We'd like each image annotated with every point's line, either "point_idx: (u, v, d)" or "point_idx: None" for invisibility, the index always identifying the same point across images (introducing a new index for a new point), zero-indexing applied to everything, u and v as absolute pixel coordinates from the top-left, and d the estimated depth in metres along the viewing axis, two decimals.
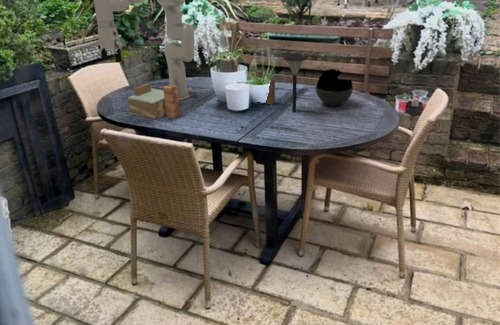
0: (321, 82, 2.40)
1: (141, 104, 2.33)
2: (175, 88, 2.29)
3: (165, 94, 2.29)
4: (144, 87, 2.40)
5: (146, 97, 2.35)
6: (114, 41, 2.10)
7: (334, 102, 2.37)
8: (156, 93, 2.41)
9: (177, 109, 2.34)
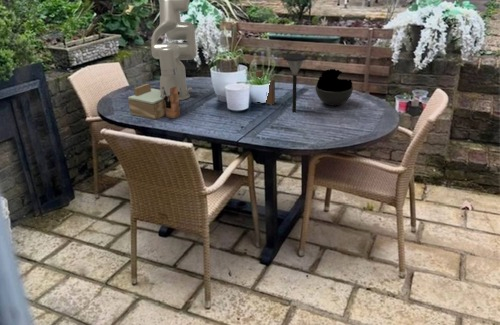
0: (321, 82, 2.40)
1: (141, 104, 2.33)
2: (175, 88, 2.29)
3: None
4: (144, 87, 2.40)
5: (146, 97, 2.35)
6: None
7: (334, 102, 2.37)
8: (156, 93, 2.41)
9: (177, 109, 2.34)
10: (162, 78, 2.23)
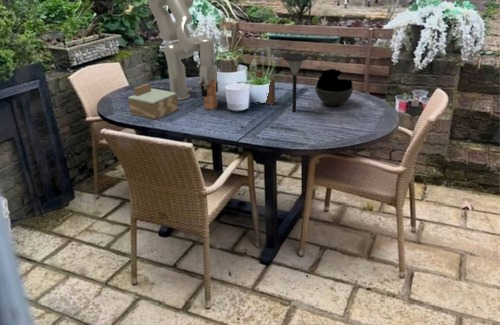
0: (321, 82, 2.40)
1: (141, 104, 2.33)
2: (214, 81, 2.39)
3: None
4: (144, 87, 2.40)
5: (146, 97, 2.35)
6: None
7: (334, 102, 2.37)
8: (156, 93, 2.41)
9: (215, 101, 2.44)
10: (202, 68, 2.33)
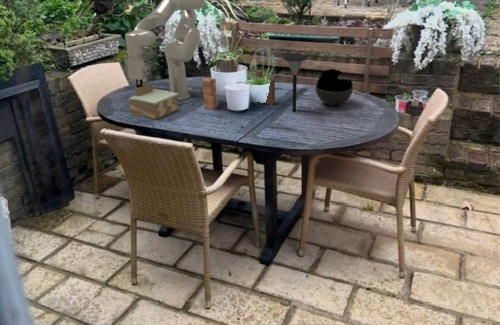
0: (321, 82, 2.40)
1: (141, 104, 2.33)
2: (214, 81, 2.39)
3: (204, 87, 2.39)
4: (146, 87, 2.40)
5: (148, 97, 2.35)
6: None
7: (334, 102, 2.37)
8: (158, 93, 2.41)
9: (215, 101, 2.44)
10: (141, 62, 2.33)
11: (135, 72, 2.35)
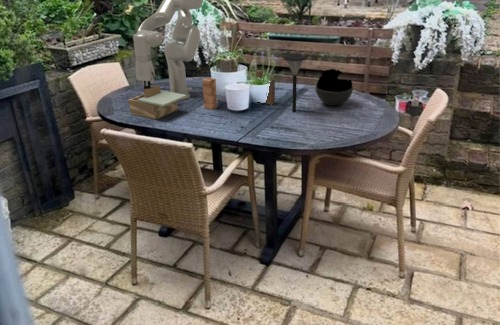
0: (321, 82, 2.40)
1: (141, 104, 2.33)
2: (214, 81, 2.39)
3: (204, 86, 2.39)
4: (154, 89, 2.37)
5: (156, 99, 2.32)
6: None
7: (334, 102, 2.37)
8: (166, 95, 2.38)
9: (215, 101, 2.44)
10: (150, 63, 2.30)
11: (143, 73, 2.32)
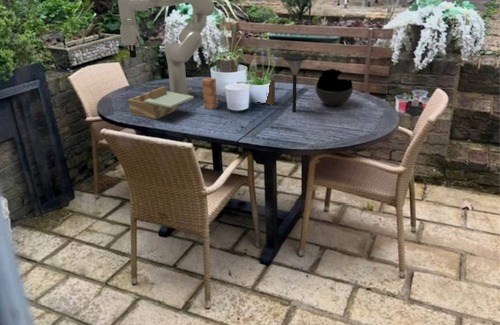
0: (321, 82, 2.40)
1: (141, 104, 2.33)
2: (214, 81, 2.39)
3: (204, 87, 2.39)
4: (160, 90, 2.35)
5: (163, 100, 2.29)
6: None
7: (334, 102, 2.37)
8: (172, 96, 2.35)
9: (215, 101, 2.44)
10: (134, 27, 2.31)
11: (128, 37, 2.33)
